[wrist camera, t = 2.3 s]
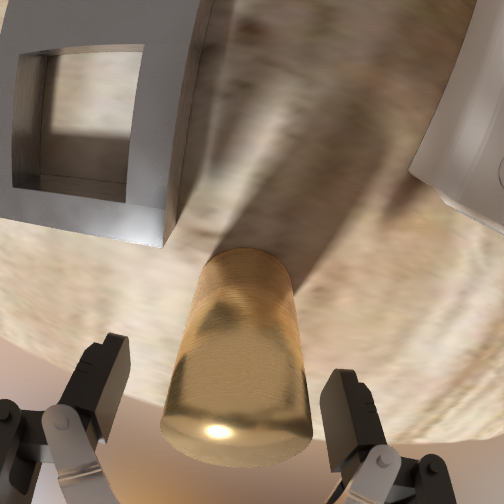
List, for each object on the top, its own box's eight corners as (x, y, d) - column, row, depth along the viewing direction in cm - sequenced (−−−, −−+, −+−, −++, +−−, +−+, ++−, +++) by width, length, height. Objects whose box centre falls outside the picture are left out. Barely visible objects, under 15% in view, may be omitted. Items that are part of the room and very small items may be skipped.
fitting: (302, 257, 16) (336, 404, 8) (279, 330, 18) (288, 470, 10) (204, 239, 16) (157, 382, 8) (194, 317, 18) (162, 455, 10)
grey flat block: (251, -121, 6) (250, -146, 4) (175, 225, 15) (162, 248, 13) (81, -104, 6) (62, -119, 3) (20, 200, 15) (-6, 216, 12)
